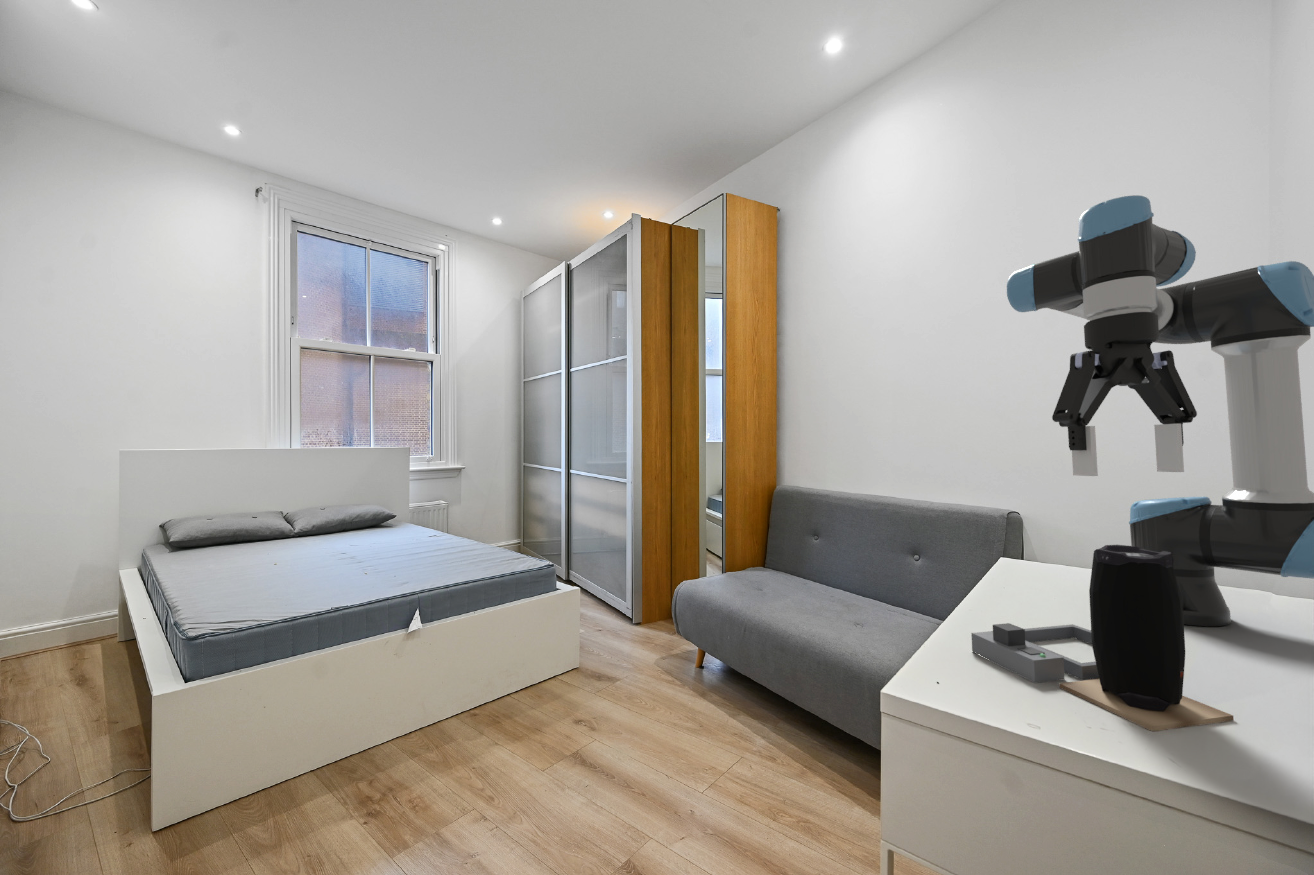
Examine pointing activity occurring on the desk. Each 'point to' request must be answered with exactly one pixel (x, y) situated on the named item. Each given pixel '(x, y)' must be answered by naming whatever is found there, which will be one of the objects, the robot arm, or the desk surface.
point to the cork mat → (1152, 720)
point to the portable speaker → (1137, 626)
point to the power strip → (1018, 653)
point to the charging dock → (1070, 666)
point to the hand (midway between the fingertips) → (1128, 474)
